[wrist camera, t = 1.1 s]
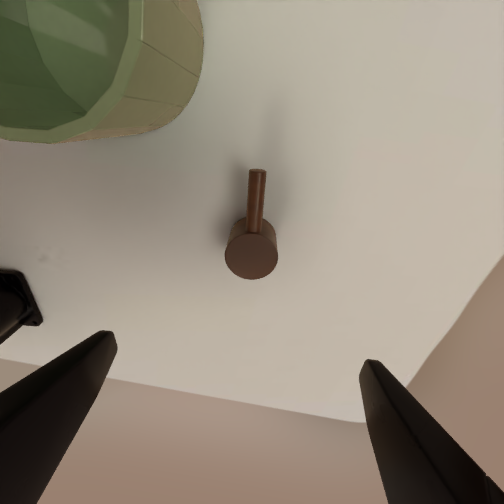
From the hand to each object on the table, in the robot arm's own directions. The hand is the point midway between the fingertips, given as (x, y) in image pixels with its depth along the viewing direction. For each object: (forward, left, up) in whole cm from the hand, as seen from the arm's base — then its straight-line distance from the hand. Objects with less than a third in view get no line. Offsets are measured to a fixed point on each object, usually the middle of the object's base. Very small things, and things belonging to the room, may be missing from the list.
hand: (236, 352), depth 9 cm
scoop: (+1, 0, -13) cm, 13 cm away
